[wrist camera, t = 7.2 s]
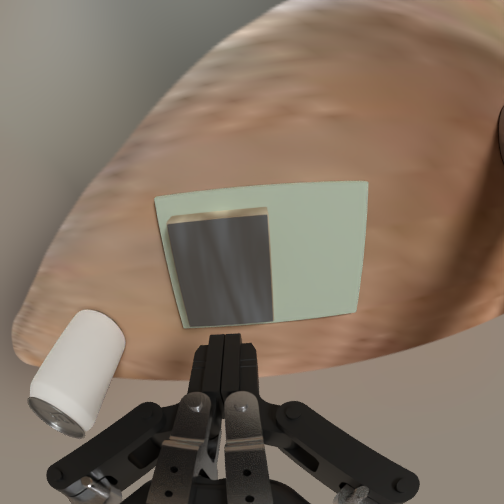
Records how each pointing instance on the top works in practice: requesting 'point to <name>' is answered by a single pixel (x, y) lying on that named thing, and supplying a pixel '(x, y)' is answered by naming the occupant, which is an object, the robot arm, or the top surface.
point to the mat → (293, 241)
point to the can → (77, 373)
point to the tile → (223, 266)
